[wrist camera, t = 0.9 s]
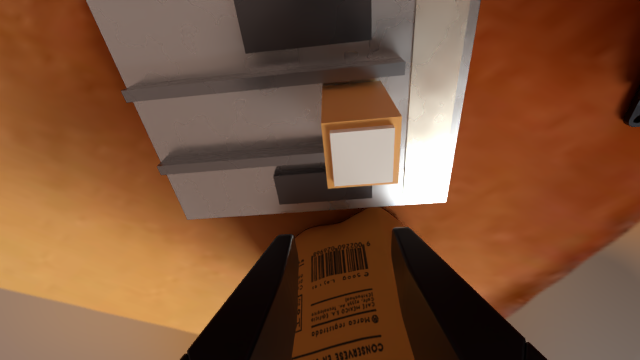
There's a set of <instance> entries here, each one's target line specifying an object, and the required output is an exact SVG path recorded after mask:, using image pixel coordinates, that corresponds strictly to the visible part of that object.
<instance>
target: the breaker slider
mask: <svg viewBox="0 0 640 360" xmlns="http://www.w3.org/2000/svg"><path fill="white" fill-rule="evenodd" d="M401 125H402V115H401V114H400V112H399V111H398V109H397V107H396V106H395V104H394V102H393V101H392V99H391V97H390V96H389V94H388V92H387V91H386V89H385V87H384V86H383V84H382V82H381V81H373V82H363V83H352V84H342V85H332V86H322V110H321V128H322V138H323V147H324V157H325V166H326V176H327V185H328V189H331V188H344V187H358V186H372V185H385V184H398V179H399V161H400V143H401Z"/></svg>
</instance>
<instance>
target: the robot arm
mask: <svg viewBox="0 0 640 360" xmlns="http://www.w3.org/2000/svg"><path fill="white" fill-rule="evenodd" d="M623 122H624V123H625V124H626V125H629V126H631V127H640V86H639V88H638V90H637V92H636V94H635V96H634V98H633V100H632V102H631V104H630V106H629V108H628V110H627V112H626V114H625V116H624V119H623ZM391 257H392V263H393V269H394V275H395V281H396V287H397V292H398V298H399V304H400V309H401V314H402V318H403V321H404V325H405V329H406V332H407V335H408V339H409V342H410V346H411V349H412V352H413V356H414V359H415V360H547V359H546V358H545V357H544V356H543V355H542V354H541V353H540V352H539V351H538V350H537V349H536V348H535V347H534V346H533V345H532V344H530V343H529V342H526V341H525V338H524V337H523V336H522V335H521V334H520V333H519V332H518V331H517V330H516V329H515V328H514V327H513V326H511V324H510V323H509V322H507V321H506V320H505V319H504V318H503V317H502V316H501V315H500V314H499V313H498V312H497V311H496V310H495V309H494V308H493V307H492V306H491V305H490V304H489V303H488V302H487V301H486V300H484V299H483V298H482V297H481V296H480V295H479V294H478V293H477V292H476V291H475V290H474V289H473V288H472V287H471V286H470V285H469V284H468V283H467V282H466V281H465V280H464V279H463V278H462V277H460V276H459V275H458V274H457V273H456V272H455V271H454V270H453V269H452V268H451V267H450V266H449V265H448V264H447V263H446V262H445V261H444V260H443V259H442V258H441V257H440V256H439V255H437V254H436V253H435V252H434V251H433V250H432V249H431V248H430V247H429V246H428V245H427V244H426V243H425V242H424V241H423V240H422V239H421V238H420V237H419V236H418V235H417V234H416V233H415V232H413V231H412V230H411V229H410V228H409V227H396V228H393V229H392V238H391ZM298 273H299V258H298V252H297V247H296V242H295V238H294V236H293V235H292V234H284V235H278V236H277V237H276V238H275V239H274V241H273V242H272V243H271V245H270V246H269V247H268V248H267V250H266V251H265V252H264V253H263V255H262V256H261V257H260V259H259V260H258V261H257V262H256V264H255V265H254V266H253V267H252V269H251V270H250V271H249V273H248V274H247V275H246V276H245V278H244V279H243V280H242V281H241V283H240V284H239V285H238V286H237V288H236V289H235V290H234V292H233V293H232V294H231V295H230V297H229V298H228V299H227V300H226V302H225V303H224V304H223V306H222V307H221V308H220V309H219V311H218V312H217V313H216V314H215V316H214V317H213V318H212V320H211V321H210V322H209V323H208V325H207V326H206V327H205V328H204V330H203V331H202V332H201V334H200V335H199V336H198V337H197V339H196V340H195V341H194V342H193V344H192V345H191V346H190V348H189V349H188V350H187V354H184V355H183V356H182V358H181V359H180V360H291V359H292V352H293V345H294V338H295V331H296V323H297V309H298Z"/></svg>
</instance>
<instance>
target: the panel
mask: <svg viewBox="0 0 640 360" xmlns="http://www.w3.org/2000/svg"><path fill="white" fill-rule="evenodd" d="M86 1H87V3H88V5H89V8H90V10H91V12H92V14H93V16H94V18H95V21H96V23H97V25H98V27H99V29H100V31H101V34H102V36H103V38H104V40H105V42H106V44H107V47H108V49H109V51H110V53H111V55H112V57H113V60H114V62H115V64H116V66H117V68H118V70H119V73H120V75H121V77H122V79H123V81H124V83H125V86H126V89H124V90H122V91H121V92H122V94H123V96H124V98H125V100H126V103H127V102H133V103H134V105H135V107H136V109H137V111H138V114H139V116H140V118H141V120H142V122H143V124H144V127H145V129H146V131H147V133H148V135H149V137H150V140H151V142H152V144H153V146H154V148H155V150H156V153H157V155H158V157H159V159H160V161H161V163H160V164H159V165H158V166H157V168H158V170H159V172H160V174H161V175H167V176H168V178H169V181H170V183H171V185H172V187H173V189H174V191H175V194H176V196H177V198H178V200H179V202H180V204H181V207H182V209H183V211H184V213H185V215H186V217H187V220H190V219H205V218H220V217H234V216H249V215H264V214H279V213H293V212H308V211H323V210H337V209H352V208H367V207H381V206H396V205H411V204H425V203H440V202H446V199H447V193H448V187H449V181H450V176H451V170H452V164H453V158H454V152H455V147H456V141H457V135H458V129H459V123H460V117H461V112H462V106H463V100H464V94H465V88H466V83H467V77H468V71H469V65H470V59H471V54H472V48H473V42H474V36H475V30H476V24H477V19H478V13H479V7H480V1H481V0H86ZM373 81H381V82H382V84H383V86H384V87H385V89H386V91H387V92H388V94H389V96H390V97H391V99H392V101H393V102H394V104H395V106H396V107H397V109H398V111H399V112H400V114H401V115H402V125H401V143H400V161H399V179H398V184H385V185H372V186H358V187H344V188H331V189H328V185H327V176H326V166H325V157H324V147H323V138H322V128H321V110H322V86H332V85H342V84H352V83H363V82H373Z"/></svg>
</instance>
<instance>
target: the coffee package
mask: <svg viewBox="0 0 640 360" xmlns="http://www.w3.org/2000/svg"><path fill="white" fill-rule="evenodd" d="M396 227H404V226H403V224H402V223H401V222H400V221H399V220H398V219H396V218H394V217H393V216H392V215H391V214H390V213H388V212H387V211H385V210H384V209H382V208H381V207H369V208H366V209H365V210H363V211H362V212H360V213H357V214H355V215H354V216H352V217H351V218H349V219H347V220H345V221H343V222H341V223H338V224H333V225H323V226H317V227H313V228H310V229H307V230H305V231H303V232H302V233H301V234H299V235H298V236H297V237H296V238H295V242H296V247H297V252H298V258H299V273H298V309H297V323H296V331H295V338H294V345H293V352H292V359H291V360H415V359H414V356H413V352H412V349H411V346H410V342H409V339H408V335H407V332H406V329H405V325H404V321H403V318H402V314H401V309H400V304H399V298H398V292H397V287H396V281H395V275H394V269H393V263H392V257H391V238H392V229H393V228H396Z"/></svg>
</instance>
